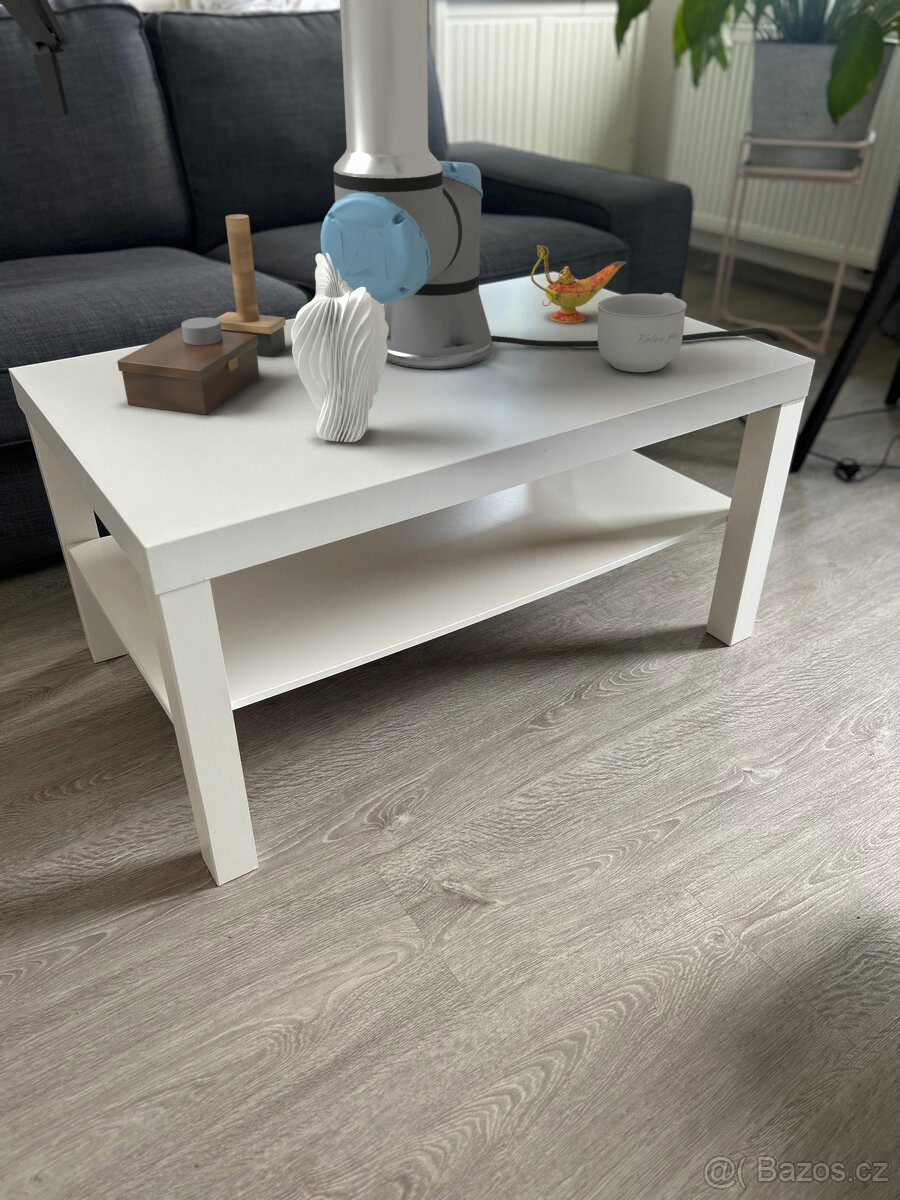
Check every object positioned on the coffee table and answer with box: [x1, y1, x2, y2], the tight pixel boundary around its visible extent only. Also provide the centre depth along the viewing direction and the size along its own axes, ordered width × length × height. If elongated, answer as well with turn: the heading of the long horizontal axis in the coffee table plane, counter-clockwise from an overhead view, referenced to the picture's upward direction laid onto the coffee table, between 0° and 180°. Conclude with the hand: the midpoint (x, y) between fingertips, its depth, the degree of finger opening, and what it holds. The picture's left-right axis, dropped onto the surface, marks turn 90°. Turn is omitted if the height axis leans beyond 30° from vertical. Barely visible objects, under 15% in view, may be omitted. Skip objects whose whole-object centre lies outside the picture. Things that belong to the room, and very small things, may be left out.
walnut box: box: [116, 326, 260, 416], centre depth 108 cm, size 11×13×5 cm
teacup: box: [597, 292, 688, 373], centre depth 117 cm, size 14×11×8 cm
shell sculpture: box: [290, 252, 389, 443], centre depth 93 cm, size 8×8×18 cm
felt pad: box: [180, 316, 222, 345], centre depth 108 cm, size 4×4×2 cm
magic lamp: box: [530, 244, 627, 324], centre depth 134 cm, size 7×18×11 cm, turn 125°
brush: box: [214, 213, 287, 358], centre depth 118 cm, size 8×4×16 cm, turn 73°
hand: (19, 119), depth 110 cm, fingers open, 13 cm apart
